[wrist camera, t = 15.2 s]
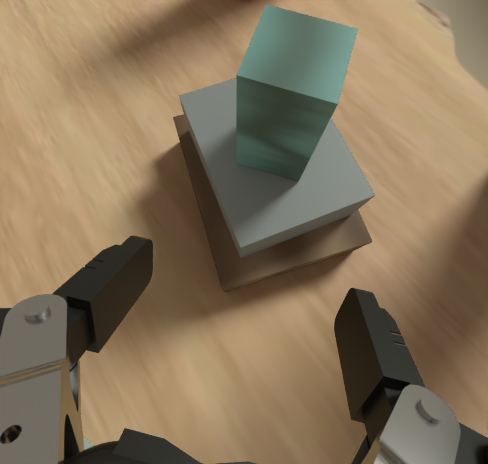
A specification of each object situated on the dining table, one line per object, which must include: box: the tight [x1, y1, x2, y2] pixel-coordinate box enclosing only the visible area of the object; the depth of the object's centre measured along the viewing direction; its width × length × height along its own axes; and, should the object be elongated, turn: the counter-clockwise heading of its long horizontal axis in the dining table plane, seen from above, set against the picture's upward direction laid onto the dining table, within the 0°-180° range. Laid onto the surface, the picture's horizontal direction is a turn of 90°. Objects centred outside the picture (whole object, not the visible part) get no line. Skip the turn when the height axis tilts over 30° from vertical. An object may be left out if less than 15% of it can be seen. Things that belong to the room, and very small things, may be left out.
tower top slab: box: [179, 78, 375, 258], centre depth 23 cm, size 11×14×4 cm
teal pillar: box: [236, 4, 358, 182], centre depth 17 cm, size 5×5×8 cm
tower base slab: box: [173, 115, 372, 292], centre depth 27 cm, size 14×18×4 cm
